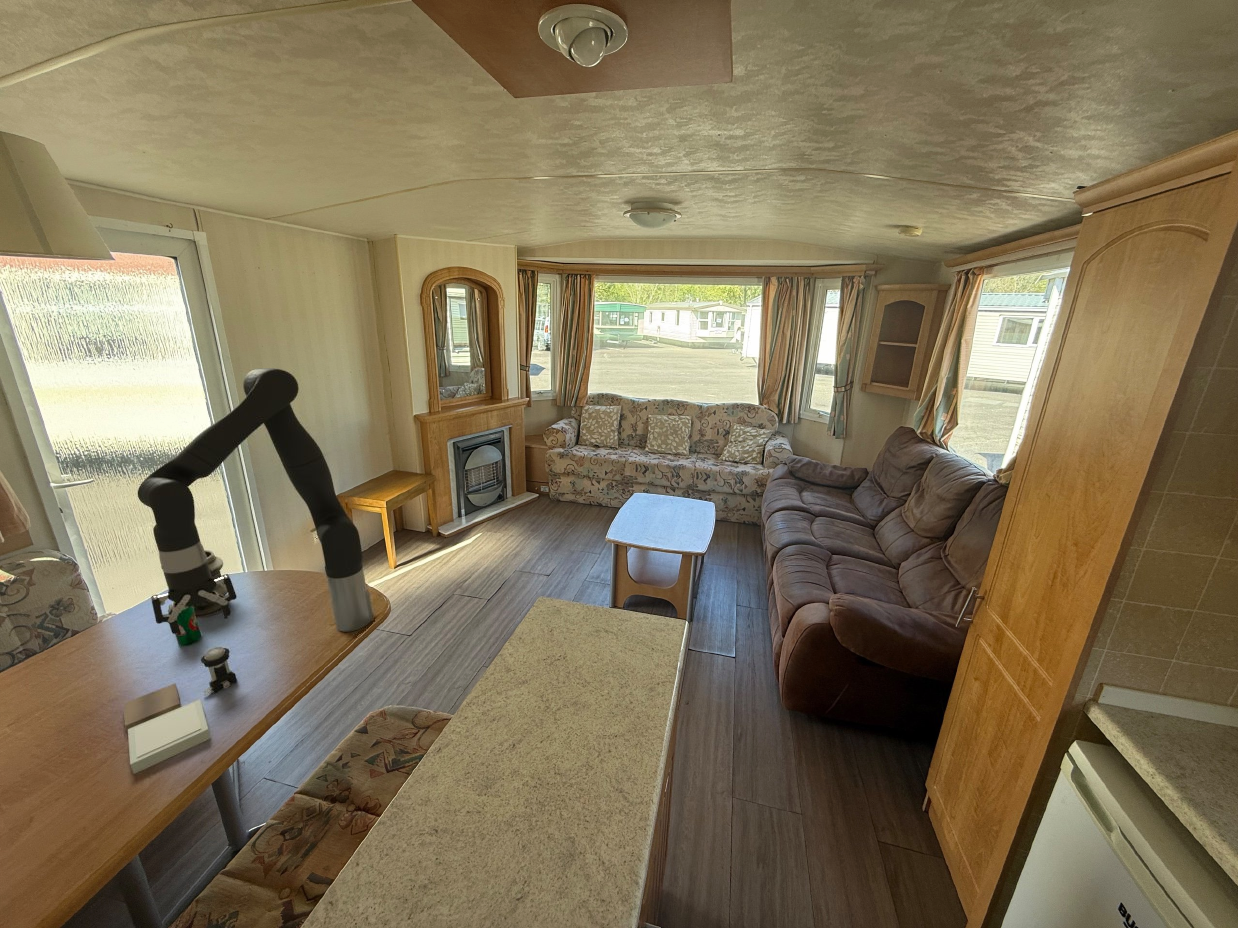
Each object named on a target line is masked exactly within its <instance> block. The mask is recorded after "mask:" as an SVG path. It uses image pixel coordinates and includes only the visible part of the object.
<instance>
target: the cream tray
mask: <svg viewBox="0 0 1238 928" xmlns="http://www.w3.org/2000/svg"><path fill="white" fill-rule="evenodd" d="M208 726H209V725H208V722H207V719H206V714H205V710H204V706H203V703H202V699H201V698H199V699H198V700H195V701H192V702H190V703H188V704H185V705H183V706H181V707H180V708H178V709H175V710H173V711H171V712H168V713H166V714H163V715H161V716H159V717H156V718H154V719H151V720H149V721H147V722H144V723H142V724H139V725H137V726H135V727H132V728H130V729H128V733H127V735H128V736H127V737H128V751H129V764H130V767H131V770H132V773H133V774H134V775H135V774H137V773H140V772H142V771H143V770H147V769H148V768H150V767H153V766H154V765H157V764H159V763H161V762H163V761H165V760H167V759H169V758H172V757H174V756H176V755H178V754H180V753H182V752H184V751H187V750H189V749H191V748H193V747H195V746H198V745H200V744H202V743H203V742H205V741H209V740H211V739H212V737H211V733H210V730H209V727H208Z"/></svg>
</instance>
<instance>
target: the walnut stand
mask: <svg viewBox="0 0 1238 928" xmlns="http://www.w3.org/2000/svg"><path fill="white" fill-rule="evenodd" d="M180 707H182V704H181V699H180V695H179V691H178V688H177V684H176V683H172V684H170V685H167V686H163V687H162V688H160V689H157V690H155V691H152V692H149V693H146V694H144V695H142V696H139V697H137V698H135V699H134V698H133V699H131V700H129V701H126V702H123V715H124V717H123V718H124V719H123V721H124V727H125V730H126V733H127V734H128V729H130V728H132V727H135V726H137V725H139V724H142V723H144V722H147V721H149V720H151V719H154V718H156V717H159V716H161V715H163V714H166V713H168V712H171V711H173V710H175V709H178V708H180Z"/></svg>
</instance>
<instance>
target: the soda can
mask: <svg viewBox="0 0 1238 928" xmlns="http://www.w3.org/2000/svg"><path fill="white" fill-rule="evenodd" d="M173 604H174V602H172V603H170V604H169V606H168V608H167V614H168V613H169V611H170V610H171V608H172V605H173ZM177 621H178V624H179V628H180V631H181V635H178V636H177V633H176V634H174V636H175V638H176V641H177V644H178V645H179V646H182V647H187V646H191V645H194V644H195V643H198V642H199V641H200V640H201V639H202V637H203V636H202V632H201V629H200V625H199V622H198V618H196V614H195V611H194V608H193V606H190V607H188V606H184V608H183V609H182V611H181V613H179V615H178V616H177Z"/></svg>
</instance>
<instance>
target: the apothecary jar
mask: <svg viewBox="0 0 1238 928" xmlns="http://www.w3.org/2000/svg"><path fill="white" fill-rule="evenodd" d="M204 551H205V554H206V556H207V562H208V565H209V569H210V573H211V576H212V578H213V579H214V580H215V579H218V578H221V577H222V574H221V569H223V566H224V561H223V559H222V558H221V557H219V556H217V555H215V554H214V552H213V551H212V550H205V549H204ZM214 591H216V592H217V593H219V594H221V595H223V596H226V595H227V594H228V591H227V589H226V586H224V587H222V586H221V585H220V584H217V585H216V587H215V589H214ZM193 608H194V611H195V614H196V618H197V619H201V618H207V617H210V616H213V615H216V614H219V613H221V612H222V609H221V606H220V604H219V603H217V602H214V601H211V600H209V599H207V600H206V602H203V603H198V604H195V605H193Z"/></svg>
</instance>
